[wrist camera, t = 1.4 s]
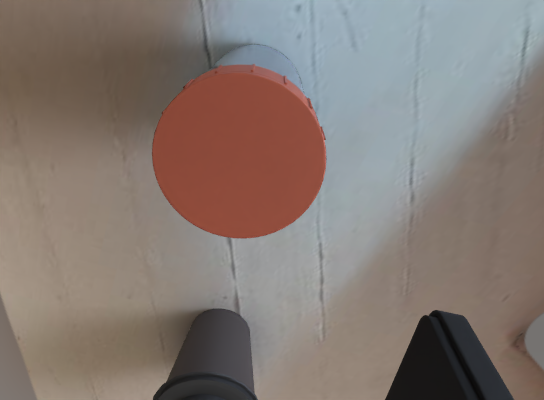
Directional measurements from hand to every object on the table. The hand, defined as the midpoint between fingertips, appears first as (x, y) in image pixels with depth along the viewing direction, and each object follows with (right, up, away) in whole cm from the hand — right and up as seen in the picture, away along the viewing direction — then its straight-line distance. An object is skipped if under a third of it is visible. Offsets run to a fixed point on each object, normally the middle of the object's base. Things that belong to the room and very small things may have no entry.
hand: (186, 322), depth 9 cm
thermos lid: (0, +4, +11) cm, 12 cm away
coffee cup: (-3, -9, +33) cm, 34 cm away
